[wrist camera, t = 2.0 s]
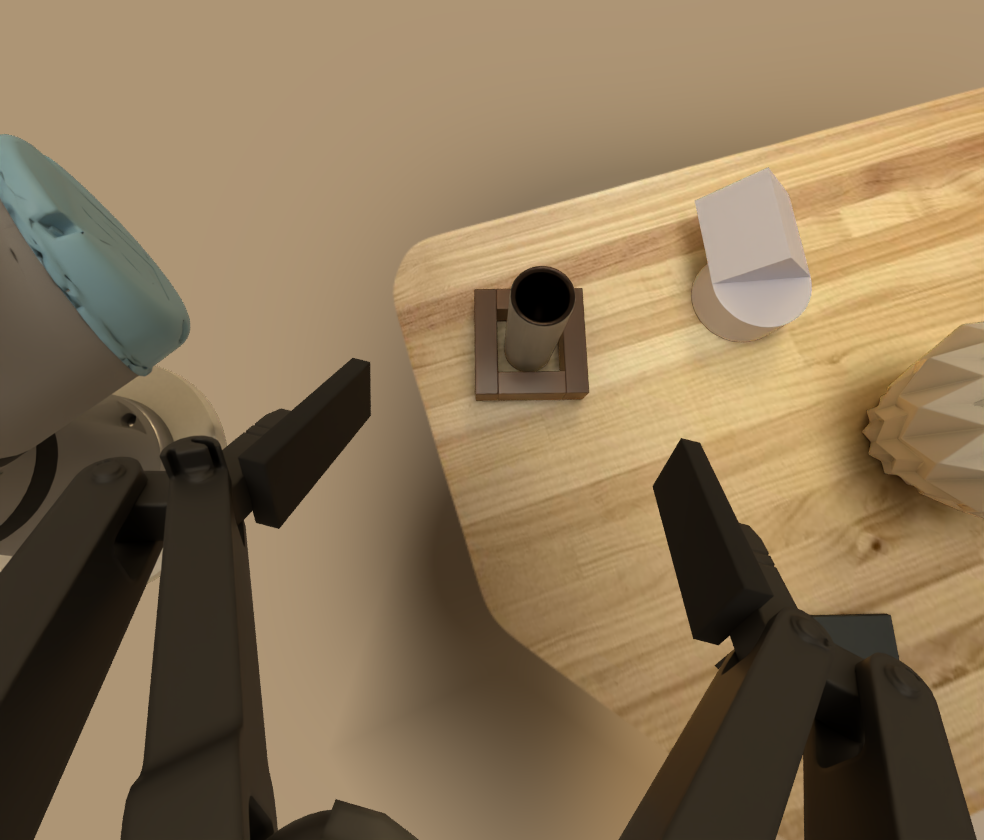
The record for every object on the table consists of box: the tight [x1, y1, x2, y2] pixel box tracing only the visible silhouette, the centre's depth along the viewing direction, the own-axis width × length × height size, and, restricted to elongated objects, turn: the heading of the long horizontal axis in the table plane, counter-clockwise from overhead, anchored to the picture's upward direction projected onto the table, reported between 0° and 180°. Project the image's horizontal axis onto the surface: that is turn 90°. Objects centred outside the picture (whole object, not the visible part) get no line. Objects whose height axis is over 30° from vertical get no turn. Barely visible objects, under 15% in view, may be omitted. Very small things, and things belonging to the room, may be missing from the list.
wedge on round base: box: [691, 168, 812, 342], centre depth 34 cm, size 9×7×13 cm
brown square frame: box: [474, 288, 589, 401], centre depth 35 cm, size 10×10×2 cm
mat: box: [810, 614, 899, 660], centre depth 31 cm, size 10×10×1 cm
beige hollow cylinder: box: [504, 266, 576, 372], centre depth 31 cm, size 4×4×10 cm
